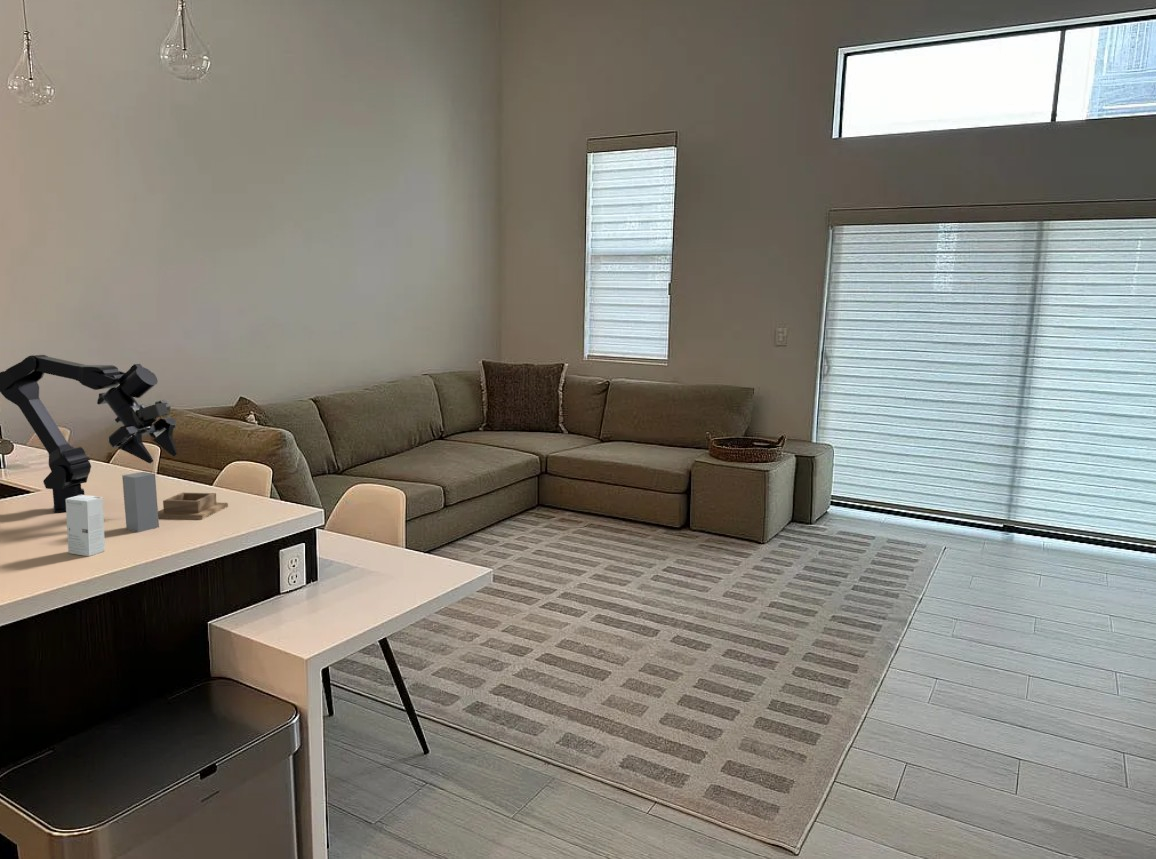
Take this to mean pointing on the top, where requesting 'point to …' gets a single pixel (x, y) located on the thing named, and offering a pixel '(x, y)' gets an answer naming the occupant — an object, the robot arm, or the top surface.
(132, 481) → the grey rectangular block
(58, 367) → the robot arm
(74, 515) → the skincare box
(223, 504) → the walnut socket
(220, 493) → the top surface
